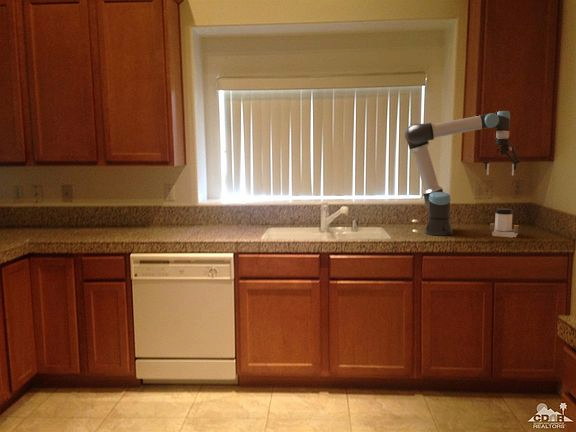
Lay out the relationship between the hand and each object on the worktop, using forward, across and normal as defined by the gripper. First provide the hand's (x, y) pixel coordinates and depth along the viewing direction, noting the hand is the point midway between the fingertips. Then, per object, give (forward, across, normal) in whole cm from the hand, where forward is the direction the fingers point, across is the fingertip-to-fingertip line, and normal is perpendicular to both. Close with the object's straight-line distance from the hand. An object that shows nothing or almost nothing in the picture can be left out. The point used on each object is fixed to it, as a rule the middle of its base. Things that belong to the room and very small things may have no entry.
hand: (500, 175), depth 294 cm
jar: (+30, +5, -14) cm, 34 cm away
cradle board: (+33, +6, -13) cm, 36 cm away
